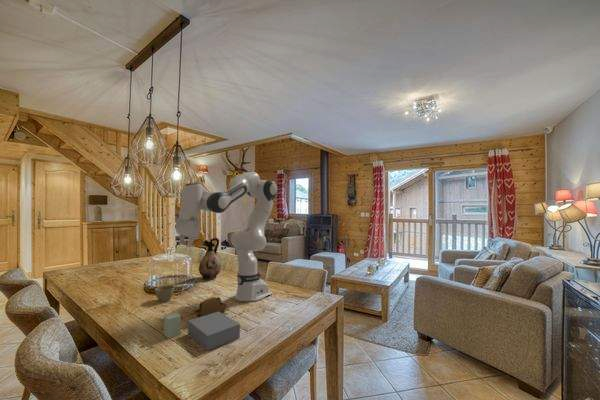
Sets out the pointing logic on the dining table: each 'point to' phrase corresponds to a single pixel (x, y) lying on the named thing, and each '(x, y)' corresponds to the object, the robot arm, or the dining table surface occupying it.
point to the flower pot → (164, 293)
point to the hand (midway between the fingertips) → (185, 245)
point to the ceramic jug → (210, 261)
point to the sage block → (172, 325)
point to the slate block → (213, 330)
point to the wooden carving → (210, 307)
